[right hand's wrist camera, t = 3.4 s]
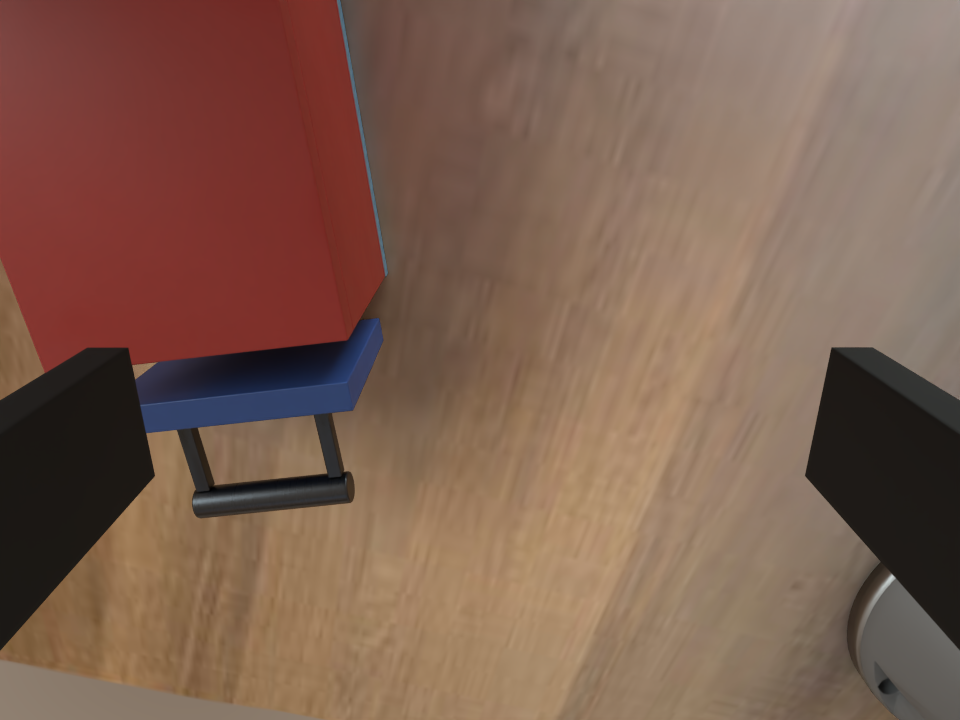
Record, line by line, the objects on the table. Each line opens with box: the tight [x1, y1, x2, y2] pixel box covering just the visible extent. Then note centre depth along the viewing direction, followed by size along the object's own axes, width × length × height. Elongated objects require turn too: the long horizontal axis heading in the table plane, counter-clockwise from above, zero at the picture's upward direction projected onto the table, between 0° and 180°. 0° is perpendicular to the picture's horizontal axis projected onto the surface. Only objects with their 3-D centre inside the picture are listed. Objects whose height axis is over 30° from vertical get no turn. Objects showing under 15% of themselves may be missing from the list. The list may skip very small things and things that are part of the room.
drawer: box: [135, 318, 383, 518], centre depth 26 cm, size 24×10×8 cm, turn 7°
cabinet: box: [0, 0, 388, 373], centre depth 24 cm, size 20×11×10 cm, turn 7°
